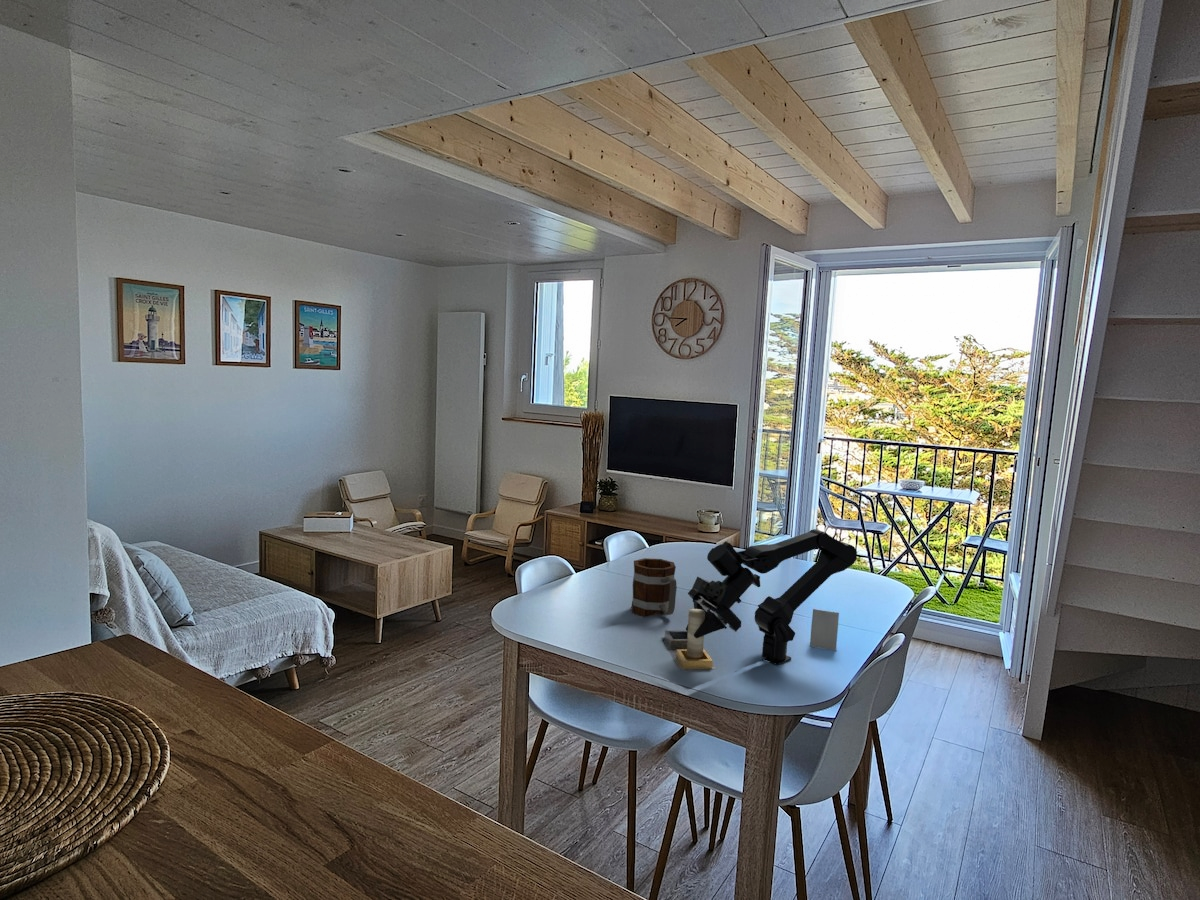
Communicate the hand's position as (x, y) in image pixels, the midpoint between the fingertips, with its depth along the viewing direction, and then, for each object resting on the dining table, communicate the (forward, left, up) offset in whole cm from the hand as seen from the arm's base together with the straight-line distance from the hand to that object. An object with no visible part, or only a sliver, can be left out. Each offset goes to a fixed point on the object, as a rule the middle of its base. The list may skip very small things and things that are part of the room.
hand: (690, 633), depth 172 cm
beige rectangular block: (-42, +13, -9) cm, 44 cm away
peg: (-1, +1, -5) cm, 6 cm away
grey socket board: (-5, -5, -9) cm, 11 cm away
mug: (-23, -32, -9) cm, 41 cm away
